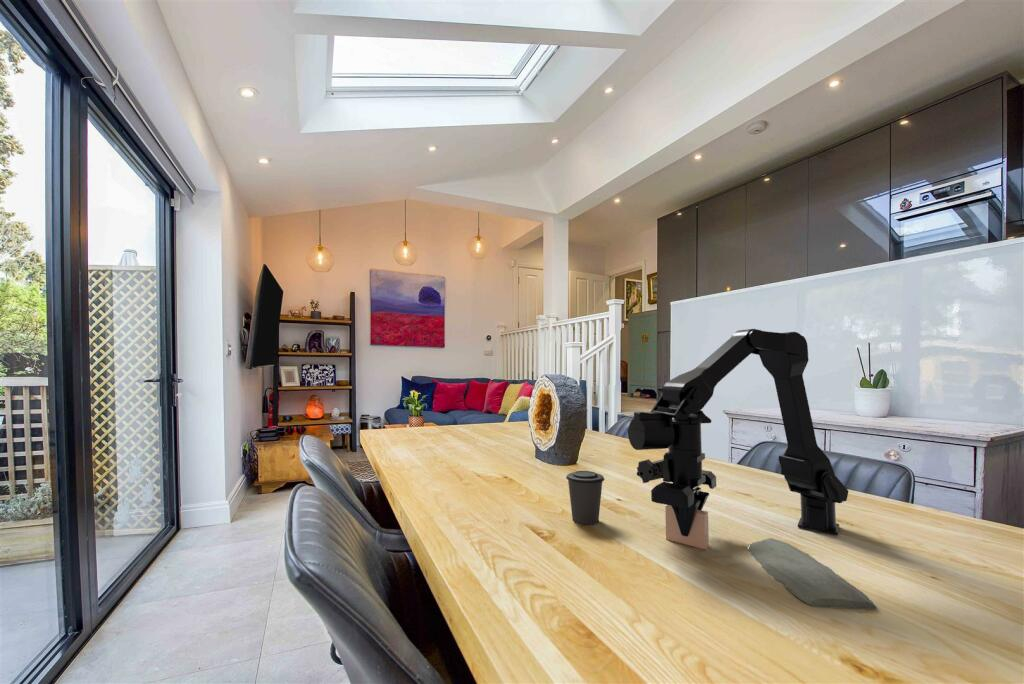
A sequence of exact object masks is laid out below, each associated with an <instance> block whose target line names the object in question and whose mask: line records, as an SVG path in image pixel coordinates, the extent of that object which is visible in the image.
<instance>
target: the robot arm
mask: <svg viewBox="0 0 1024 684" xmlns="http://www.w3.org/2000/svg"><path fill="white" fill-rule="evenodd" d="M751 354H753V355H757V356H759V358H760V361H761V364H762V367H764V368H765V369H766V370H767V372H768V373H769V374H770V375H771V376H772V378H773V380H774V384H775V386H774V387H775V390H776V396H777V400H778V403H779V408H780V414H781V419H782V423H783V429H784V432H785V439H786V442H787V447H786V449H785V451H784V454H782V455H781V454H779V456H778V461H779V464H780V465H779V466H780V475H782V476H783V477H784V479H785V481H786V482H787V486H788V488H789V491H790V492H793V493H797V494H799V495H800V496H799V497H800V518H799V521H798V523H797V528H799V529H804V530H810V531H815V532H819V533H825V534H830V535H839V531H840V524H839V523H837V517H836V516H837V515H836V504H843V502H847V501H848V495H849V489H848V488H847V487H846V486H845V485H844V484H843V483H842V482H841V480H840V479H839V478H838V477H837V476H836V474H835V471H834V469H833V466H832V463H831V460H830V458H829V457H828V456H827V454H826V453H825V452H824V451H823V449H822V448H821V447H820V446H819V445H818V443H817V438H816V434H815V429H814V424H813V419H812V415H811V414H812V413H811V411H810V410H811V409H810V406H809V400H808V396H807V392H806V391H807V390H806V386H805V381H804V377H803V376H804V375H803V374H804V372H805V370H806V367H807V365H808V363H809V359H810V358H809V348H808V341H807V339H806V338H805V336H804V335H802V334H801V333H799V332H797V331H788V332H787V331H786V332H776V331H775V332H774V331H765V330H761V329H758V328H757V329H756V328H747V329H742V330H736V331H735V332H733V333H732V335H731V337H729V339H727V340H726V341H725V342H724V343H723V344H722V345H721V346H719V347H718V348H717V349H716V350H714V351H713V352H712V353H711V354H710V355H709V356H708V357H707V358H706V359H704V360H703V361H702V362H701V363H699V364H698V366H696V367H694V368H693V369H692V370H689V371H687V372H683V373H681V374H678V375H677V376H675V377H674V378H672V379H670V380H668V381H666V382H665V384H664V385H663V387H662V388H661V390H662V391H661V392H662V393H661V394H660V396H659V398H658V400H657V401H656V402H655V404H654V405H653V407H652V408H651V410H650V412H649V411H648V412H645V411H634V412H633V418H632V420H631V421H630V422H629V426H628V428H627V437H628V441H629V443H630V446H631V447H632V448H633V449H634V450H635V451H643V450H644V451H647V450H662V449H663V450H666V449H668V451H667V452H665V453H664V454H663V459H658V460H655V461H651V460H650V459H645V460H641V461H638V465H637V467H636V469H637V471H636V476H638V477H639V478H641V481H642V483H643V484H645V483H646V484H647V483H649V482H651V481H655V480H661V479H662V482H660V483H659V484H656V485H654V487H653V488H652V489H651V491H650V495H651V498H650V499H651V502H653V503H656V504H659V505H660V504H661V505H666V506H667V505H670V506H672V508H673V510H674V513H675V516H676V519H677V522H678V525H679V529H680V532H681V535H682V536H686V537H687V536H688V535H689V532H690V530H691V527H692V524H693V521H694V518H695V515H696V512H697V510H702V511H703V508H704V506H705V504H706V502H707V499H708V497H710V493H709V492H707V491H702V487H700V486H702V485H707V486H708V487H709V489H710V490H711V489H712V490H713V489H714V488H716V487H717V475H715V474H714V472H712V471H711V470H704V469H703V460H705V459H706V453H705V452H702V450H703V449H702V424H711V423H712V418H710V417H708V416H707V415H706V414H705V413H704V411H703V410H702V409H704V407H705V406H706V405H707V404H708V403H709V401H710V400H711V398H712V397H713V395H714V391H715V388H716V386H717V385H718V384H719V383H720V382H721V381H722V380H723V379H724V378H725V377H727V375H728V374H730V373H731V372H732V371H733V370H734V369H735V368H736V367H738V366H739V365H740V364H741V363H742V362H744V360H745V359H746V358H748V357H749V356H750V355H751Z"/></svg>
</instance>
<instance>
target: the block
mask: <svg viewBox="0 0 1024 684" xmlns="http://www.w3.org/2000/svg"><path fill="white" fill-rule="evenodd" d="M664 512H665V513H664V514H665V540H666V539H667V540H666V541H670V540H671V542H674V541H675V542H674V543H678V542H679V543H678V544H683V545H687V546H691V547H695V548H698V549H701V550H702V549H703V550H707V549H708V547H709V546H710V539H709V538H710V536H709V511H706V510H703V509H702V510H697V512H696V515H695V518H694V521H693V524H692V527H691V530H690V532H689V535H688V536H687V537H686V536H682V535H681V532H680V529H679V525H678V522H677V519H676V516H675V513H674V510H673V508H672V506H670V505H666V506H665V511H664Z"/></svg>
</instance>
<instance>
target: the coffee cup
mask: <svg viewBox="0 0 1024 684" xmlns="http://www.w3.org/2000/svg"><path fill="white" fill-rule="evenodd" d="M565 479H566V480H567V482H568V483H567V484H568V492H569V499H570V509H571V518H572V522H573V521H574V522H575V523H574V522H573V523H574V524H576V523H578V524H577V525H579V524H582V525H581V526H586V525H589V526H595V525H597V524H598V523H599V522H600V521H599V519H600V510H601V501H602V500H601V499H602V490H603V489H602V488H603V482H605V479H606V478H605V477H604V475H602V474H600V473H598V472H595V471H590V470H575V471H572V472H569V473H567V474H566V477H565ZM596 523H597V524H596ZM594 524H595V525H594Z"/></svg>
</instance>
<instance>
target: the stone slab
mask: <svg viewBox="0 0 1024 684" xmlns="http://www.w3.org/2000/svg"><path fill="white" fill-rule="evenodd" d="M751 543H752V544H750V543H749V544H750V547H749V546H748V547H749V549H748V550H747V552H748V553H750V555H751V556H752V557H753V558H754V560H756V562H758V563H759V564H761V568H762V569H763V570H764V571H765V572H766V573H767V574H768V575H769V576H771V577H772V578H773V580H775V581H777V582H780V583H782V584H783V585H784V586H785V588H786V590H787V591H789V593H791V594H792V595H793V596H794V597H796V598H798V599H799V600H800V601H802V602H803V603H805V604H807V605H809V606H812V607H815V608H835V609H836V608H837V609H838V608H840V609H844V608H845V609H860V610H863V609H864V610H865V609H866V610H878V608H877V606H876V604H875V603H874V601H872V599H870V598H869V597H868V595H866V594H865V593H864V592H863V591H861V590H860V589H858V588H857V587H856V586H854V585H853V584H851V583H850V582H849V581H847V580H846V579H844V578H843V577H842V576H840V575H839V574H838V573H836V572H835V571H834V570H833V569H832V568H830V567H829V566H827V565H825V564H823V563H821V562H819V561H818V560H817V559H816V558H814V557H813V556H812V555H810V554H809V553H806V552H804V551H803V550H801V549H799V548H798V547H796V546H794V545H792V544H791V543H787V542H785V541H783V540H779V539H776V538H772V537H770V538H766V539H763V540H759V541H754V542H751Z"/></svg>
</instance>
